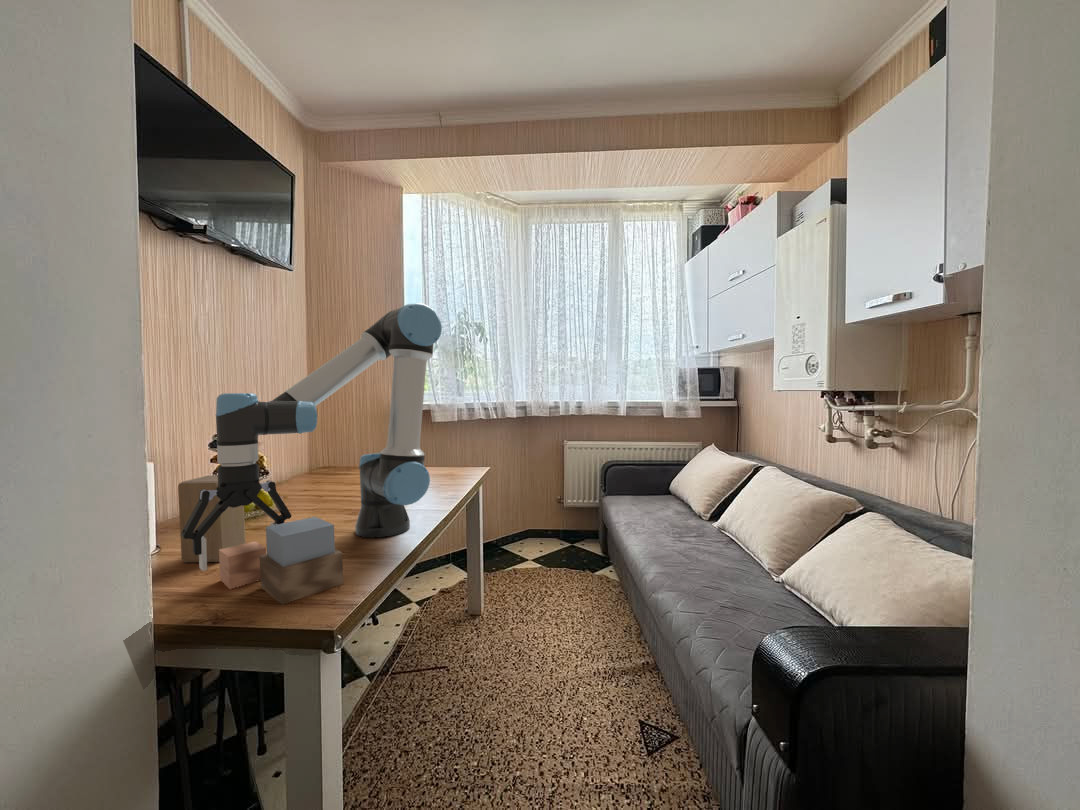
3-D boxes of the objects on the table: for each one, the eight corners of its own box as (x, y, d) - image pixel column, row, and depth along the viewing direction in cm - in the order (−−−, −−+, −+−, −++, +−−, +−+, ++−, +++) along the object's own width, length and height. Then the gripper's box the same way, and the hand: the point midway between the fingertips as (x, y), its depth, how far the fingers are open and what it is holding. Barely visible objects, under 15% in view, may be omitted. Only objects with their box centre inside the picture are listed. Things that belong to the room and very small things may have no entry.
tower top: (316, 542, 103) (315, 516, 102) (334, 552, 96) (333, 524, 96) (266, 555, 95) (265, 526, 95) (283, 566, 89) (282, 536, 88)
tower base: (319, 570, 104) (318, 540, 104) (343, 584, 96) (342, 552, 96) (260, 588, 95) (259, 556, 95) (282, 605, 87) (280, 570, 87)
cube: (256, 571, 105) (255, 541, 104) (267, 578, 100) (265, 547, 100) (220, 581, 99) (218, 549, 99) (229, 589, 95) (228, 556, 95)
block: (210, 549, 120) (207, 474, 119) (247, 549, 120) (244, 474, 119) (179, 564, 110) (175, 482, 109) (219, 563, 110) (215, 481, 109)
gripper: (292, 456, 111) (294, 542, 111) (161, 469, 92) (164, 572, 92) (305, 458, 106) (307, 548, 106) (169, 473, 87) (172, 582, 88)
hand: (240, 559), depth 99 cm, fingers open, 13 cm apart
